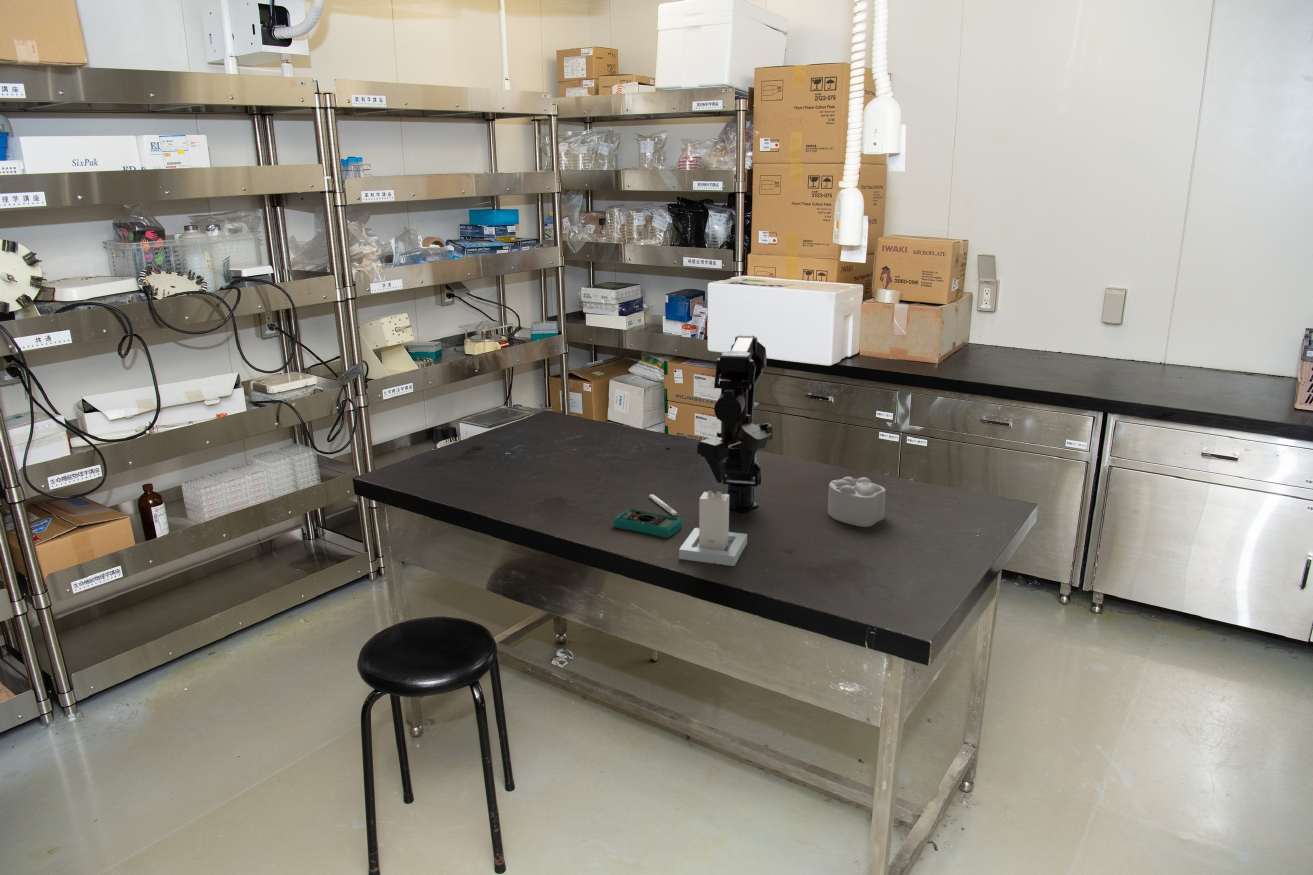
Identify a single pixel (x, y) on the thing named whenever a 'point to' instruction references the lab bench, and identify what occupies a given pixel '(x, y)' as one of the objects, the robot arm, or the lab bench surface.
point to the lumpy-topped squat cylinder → (856, 501)
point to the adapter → (714, 520)
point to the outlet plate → (726, 557)
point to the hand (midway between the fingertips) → (732, 477)
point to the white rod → (663, 504)
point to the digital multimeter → (648, 523)
